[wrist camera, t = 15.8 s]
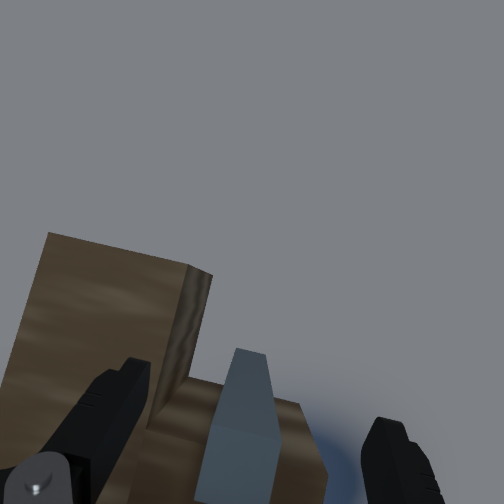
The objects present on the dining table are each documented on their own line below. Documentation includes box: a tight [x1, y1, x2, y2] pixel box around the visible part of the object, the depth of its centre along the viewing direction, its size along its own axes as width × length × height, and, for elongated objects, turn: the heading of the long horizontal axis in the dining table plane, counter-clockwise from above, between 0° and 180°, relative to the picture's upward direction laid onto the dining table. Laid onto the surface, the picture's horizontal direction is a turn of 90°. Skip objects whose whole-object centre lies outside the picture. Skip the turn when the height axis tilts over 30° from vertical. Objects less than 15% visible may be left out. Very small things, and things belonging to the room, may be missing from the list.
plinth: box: [0, 232, 328, 504], centre depth 28 cm, size 14×22×32 cm, turn 89°
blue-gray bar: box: [194, 348, 282, 504], centre depth 27 cm, size 23×4×4 cm, turn 179°
